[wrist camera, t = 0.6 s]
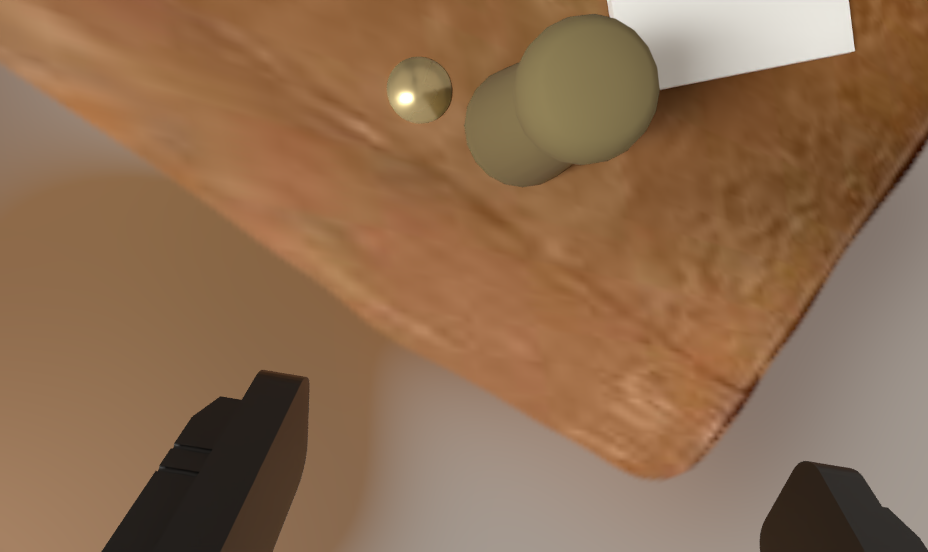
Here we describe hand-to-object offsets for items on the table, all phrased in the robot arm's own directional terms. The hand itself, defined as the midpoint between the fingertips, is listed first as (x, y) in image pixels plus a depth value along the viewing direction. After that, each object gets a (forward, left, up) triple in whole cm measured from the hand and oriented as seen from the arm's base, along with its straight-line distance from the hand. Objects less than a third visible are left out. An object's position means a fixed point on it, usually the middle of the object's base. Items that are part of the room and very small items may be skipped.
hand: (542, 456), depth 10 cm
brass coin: (-10, +2, -22) cm, 24 cm away
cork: (-7, +7, -22) cm, 24 cm away
